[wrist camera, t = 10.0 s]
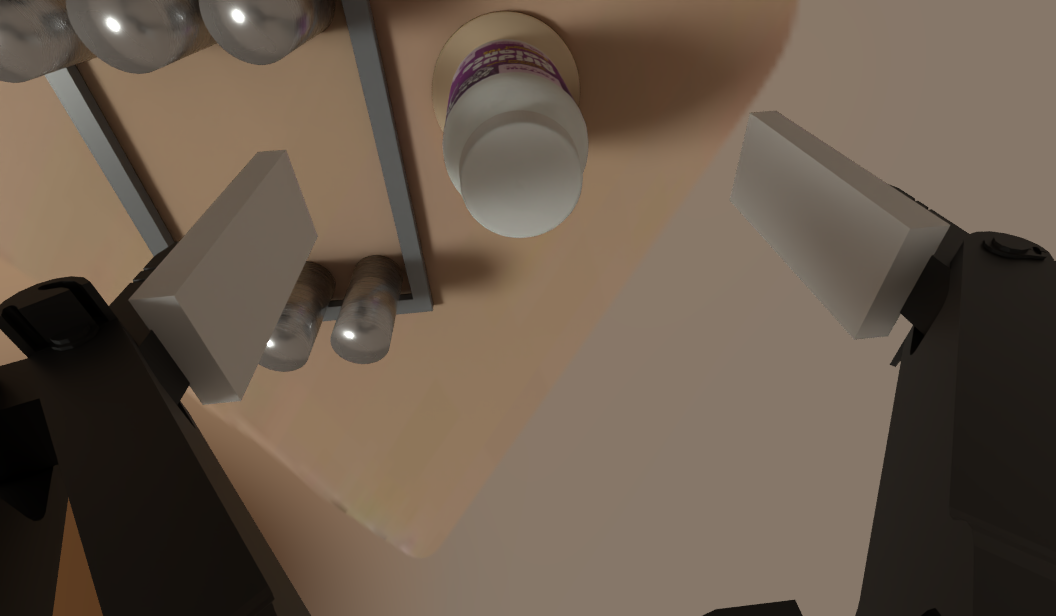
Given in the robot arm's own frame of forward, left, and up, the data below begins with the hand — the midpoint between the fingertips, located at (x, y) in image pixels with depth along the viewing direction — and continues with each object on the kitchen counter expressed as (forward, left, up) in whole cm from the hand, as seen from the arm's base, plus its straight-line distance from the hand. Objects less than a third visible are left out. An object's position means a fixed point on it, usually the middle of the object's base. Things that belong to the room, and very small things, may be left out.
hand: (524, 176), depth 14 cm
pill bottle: (+1, 0, -11) cm, 11 cm away
